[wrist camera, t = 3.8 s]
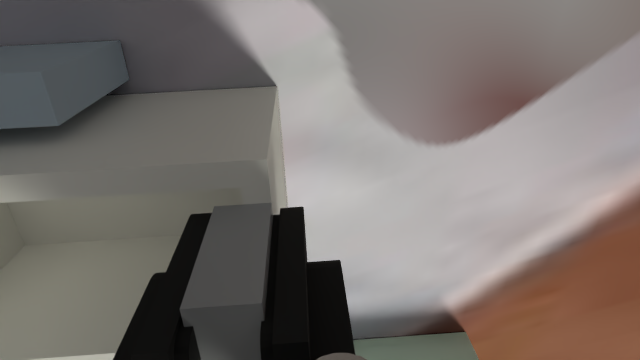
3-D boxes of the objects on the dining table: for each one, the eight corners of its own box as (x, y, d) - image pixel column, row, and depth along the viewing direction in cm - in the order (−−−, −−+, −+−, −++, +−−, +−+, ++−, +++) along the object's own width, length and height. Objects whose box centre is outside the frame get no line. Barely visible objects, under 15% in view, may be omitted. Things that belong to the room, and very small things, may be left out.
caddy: (277, 86, 14) (254, 246, 6) (289, 229, 16) (286, 482, 8) (-36, 103, 13) (-526, 300, 5) (26, 247, 16) (-246, 528, 8)
